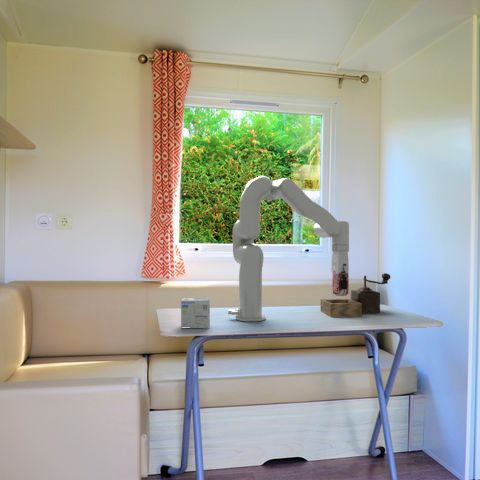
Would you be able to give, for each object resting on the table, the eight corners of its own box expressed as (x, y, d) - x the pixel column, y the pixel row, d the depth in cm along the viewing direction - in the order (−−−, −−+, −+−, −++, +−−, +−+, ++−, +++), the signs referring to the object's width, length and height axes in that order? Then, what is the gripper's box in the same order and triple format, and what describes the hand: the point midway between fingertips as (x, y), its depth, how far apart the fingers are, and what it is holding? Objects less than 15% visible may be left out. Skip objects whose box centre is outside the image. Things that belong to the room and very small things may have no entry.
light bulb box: (209, 325, 162) (209, 297, 162) (209, 328, 155) (209, 300, 155) (182, 325, 161) (182, 297, 161) (180, 329, 155) (180, 300, 155)
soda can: (349, 296, 182) (349, 269, 182) (332, 296, 184) (332, 269, 184) (348, 294, 189) (348, 268, 189) (332, 293, 191) (332, 267, 191)
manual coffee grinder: (359, 313, 186) (359, 273, 186) (350, 309, 197) (350, 271, 197) (392, 313, 188) (392, 273, 188) (381, 309, 199) (381, 271, 199)
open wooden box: (330, 316, 179) (330, 304, 179) (320, 311, 193) (320, 299, 193) (361, 316, 180) (361, 303, 180) (349, 310, 194) (349, 298, 194)
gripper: (326, 248, 195) (326, 286, 195) (339, 249, 177) (339, 290, 177) (341, 248, 196) (341, 286, 196) (356, 249, 178) (356, 290, 178)
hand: (340, 288), depth 187 cm, fingers closed on soda can, 6 cm apart
